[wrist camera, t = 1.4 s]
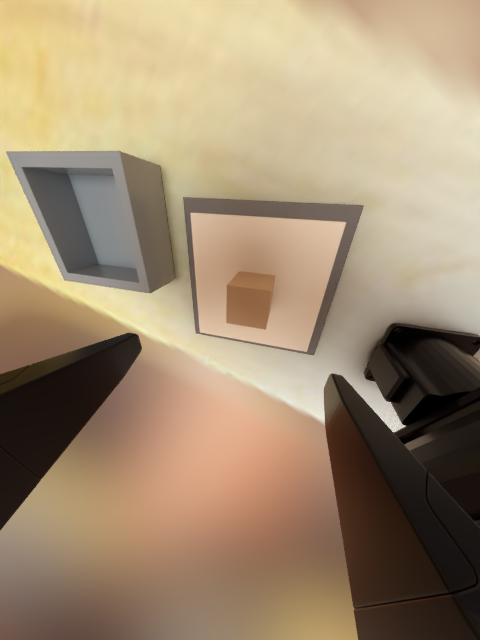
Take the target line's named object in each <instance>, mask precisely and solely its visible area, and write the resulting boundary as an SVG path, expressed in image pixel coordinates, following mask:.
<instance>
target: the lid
mask: <svg viewBox="0 0 480 640" xmlns="http://www.w3.org/2000/svg"><path fill="white" fill-rule="evenodd" d="M190 214H191V227H192V240H193V253H194V265H195V278H196V291H197V304H198V317H199V329H200V332H201V333H206V334H212V335H217V336H222V337H228V338H233V339H239V340H244V341H249V342H255V343H260V344H266V345H271V346H277V347H282V348H287V349H293V350H298V351H304V352H307V350H308V346H309V343H310V340H311V337H312V333H313V330H314V327H315V323H316V320H317V317H318V314H319V310H320V307H321V304H322V300H323V297H324V294H325V290H326V287H327V284H328V281H329V277H330V274H331V271H332V267H333V264H334V261H335V258H336V254H337V251H338V248H339V244H340V241H341V238H342V234H343V231H344V228H345V225H346V222H339V221H322V220H306V219H289V218H273V217H257V216H240V215H224V214H207V213H190Z"/></svg>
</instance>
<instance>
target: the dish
mask: <svg viewBox="0 0 480 640" xmlns="http://www.w3.org/2000/svg"><path fill="white" fill-rule="evenodd" d="M6 153H7V155H8V158H9V160H10V162H11V164H12V166H13V169H14V171H15V173H16V175H17V177H18V180H19V182H20V184H21V186H22V188H23V191H24V193H25V195H26V197H27V199H28V202H29V204H30V206H31V208H32V210H33V212H34V215H35V217H36V219H37V221H38V223H39V226H40V228H41V230H42V232H43V234H44V237H45V239H46V241H47V243H48V245H49V248H50V250H51V252H52V254H53V256H54V259H55V261H56V263H57V265H58V267H59V270H60V272H61V274H62V276H63V278H64V280H66V281H72V282H79V283H85V284H92V285H99V286H105V287H112V288H118V289H125V290H131V291H138V292H145V293H152V292H153V291H155V290H157V289H159V288H160V287H162V286H164V285H166V284H167V283H169V282H171V281H173V280H175V272H174V265H173V258H172V250H171V243H170V236H169V228H168V221H167V214H166V206H165V199H164V192H163V184H162V177H161V169H160V166H159V165H157V164H154V163H151V162H148V161H145V160H143V159H140V158H137V157H134V156H131V155H129V154H126V153H123V152H120V151H23V152H6Z"/></svg>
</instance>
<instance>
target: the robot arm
mask: <svg viewBox="0 0 480 640" xmlns="http://www.w3.org/2000/svg"><path fill="white" fill-rule="evenodd" d="M398 328H399V330H397V331H395V330H396V329H398ZM473 341H475V342H473ZM141 349H142V346H141V343H140V340H139V336H138V335H137V334H134V333H126V334H123V335H120V336H117V337H114V338H111V339H108V340H105V341H102V342H99V343H96V344H92V345H89V346H86V347H83V348H80V349H77V350H74V351H71V352H68V353H65V354H62V355H59V356H56V357H52V358H49V359H46V360H44V361H40V362H37V363H34V364H32V365H28V366H25V367H21V368H18V369H16V370H12V371H9V372H6V373H3V374H0V530H1V529H2V528H3V526H4V525H5V524H6V523H7V521H8V520H9V519H10V518H11V517H12V515H13V514H14V513H15V512H16V510H17V509H18V508H19V507H20V505H21V504H22V503H23V502H24V500H25V499H26V498H27V497H28V495H29V494H30V493H31V492H32V490H33V489H34V488H35V487H36V486H37V484H38V483H39V482H40V480H41V479H42V478H43V477H44V475H45V474H46V473H47V472H48V470H49V469H50V468H51V467H52V465H53V464H54V463H55V462H56V461H57V459H58V458H59V457H60V456H61V454H62V453H63V452H64V451H65V449H66V448H67V447H68V446H69V444H70V443H71V441H73V439H74V438H75V437H76V436H77V434H78V433H79V432H80V431H81V430H82V428H83V427H84V426H85V425H86V423H87V422H88V421H89V420H90V418H91V417H92V416H93V415H94V414H95V412H96V411H97V410H98V409H99V407H100V406H101V405H102V404H103V402H104V401H105V400H106V398H107V397H108V396H109V395H110V394H111V392H112V391H113V390H114V388H115V387H116V386H117V385H118V384H119V382H120V381H121V380H122V379H123V377H124V376H125V375H126V373H127V372H128V370H129V368H130V367H131V365H132V364H133V363H134V361H135V360H136V358H137V357H138V355H139V354H140V352H141ZM479 349H480V336H478V335H474V334H467V333H460V332H453V331H446V330H439V329H432V328H425V327H419V326H412V325H405V324H393V325H391V326H390V327H389V329H388V331H387V333H386V334H385V336H384V338H383V340H382V342H381V343H380V344H379V345H378V346H377V348H376V350H375V352H374V353H373V355H372V357H371V359H370V361H369V363H368V367H367V369H366V371H365V372H364V375H365V378H366V379H367V380H371V381H376V383H377V385H378V387H379V389H380V391H381V393H382V395H383V397H384V398H385V400H386V401H388V402H391V404H392V405H393V407H394V409H395V411H396V413H397V415H398V417H399V419H400V421H401V423H402V424H403V425H406V427H404V428H402V429H400V430H398V431H396V432H394V433H393V432H392V431H391V430H390V428H389V427H388V426H387V425H386V424H385V423H384V422H383V421H382V420H381V418H380V417H379V416H378V415H377V414H376V413H375V412H374V411H373V410H372V408H371V407H370V406H369V405H368V404H367V403H366V402H365V401H364V400H363V398H362V397H361V396H360V395H359V394H358V393H357V392H356V391H355V390H354V388H353V387H352V386H351V385H350V384H349V383H348V382H347V381H346V380H345V378H344V377H343V376H341V375H337V374H330V375H329V378H328V380H327V382H326V385H325V387H324V408H325V428H326V436H327V442H328V449H329V456H330V461H331V468H332V474H333V480H334V487H335V494H336V499H337V506H338V512H339V519H340V525H341V532H342V537H343V544H344V551H345V557H346V563H347V569H348V576H349V582H350V589H351V595H352V601H353V606H354V608H355V609H354V615H355V621H356V628H357V633H358V640H480V361H478V360H477V359H476V358H475V357H473V355H474V354H475V353H476V352H477V351H478V350H479ZM369 375H370V376H369Z"/></svg>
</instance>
